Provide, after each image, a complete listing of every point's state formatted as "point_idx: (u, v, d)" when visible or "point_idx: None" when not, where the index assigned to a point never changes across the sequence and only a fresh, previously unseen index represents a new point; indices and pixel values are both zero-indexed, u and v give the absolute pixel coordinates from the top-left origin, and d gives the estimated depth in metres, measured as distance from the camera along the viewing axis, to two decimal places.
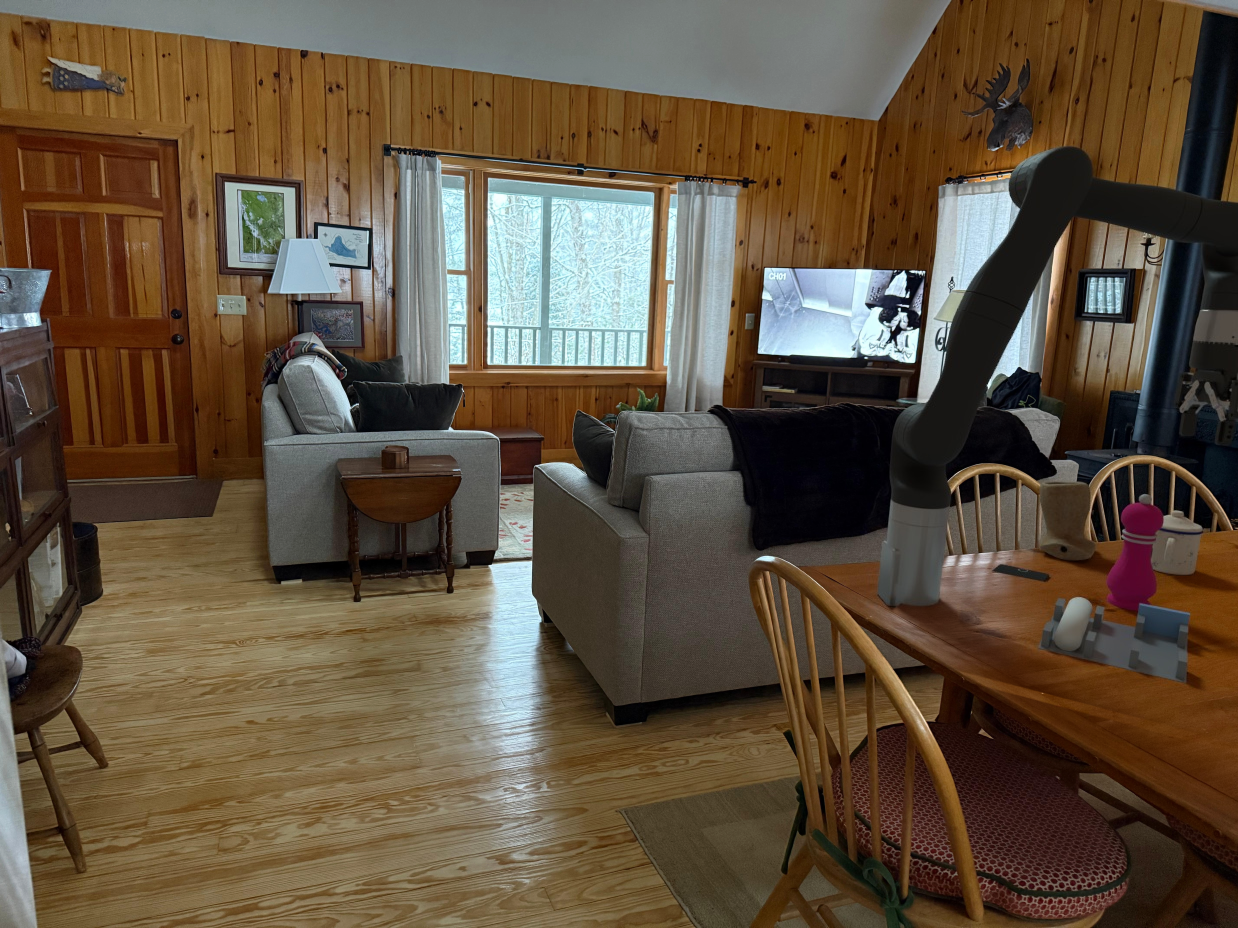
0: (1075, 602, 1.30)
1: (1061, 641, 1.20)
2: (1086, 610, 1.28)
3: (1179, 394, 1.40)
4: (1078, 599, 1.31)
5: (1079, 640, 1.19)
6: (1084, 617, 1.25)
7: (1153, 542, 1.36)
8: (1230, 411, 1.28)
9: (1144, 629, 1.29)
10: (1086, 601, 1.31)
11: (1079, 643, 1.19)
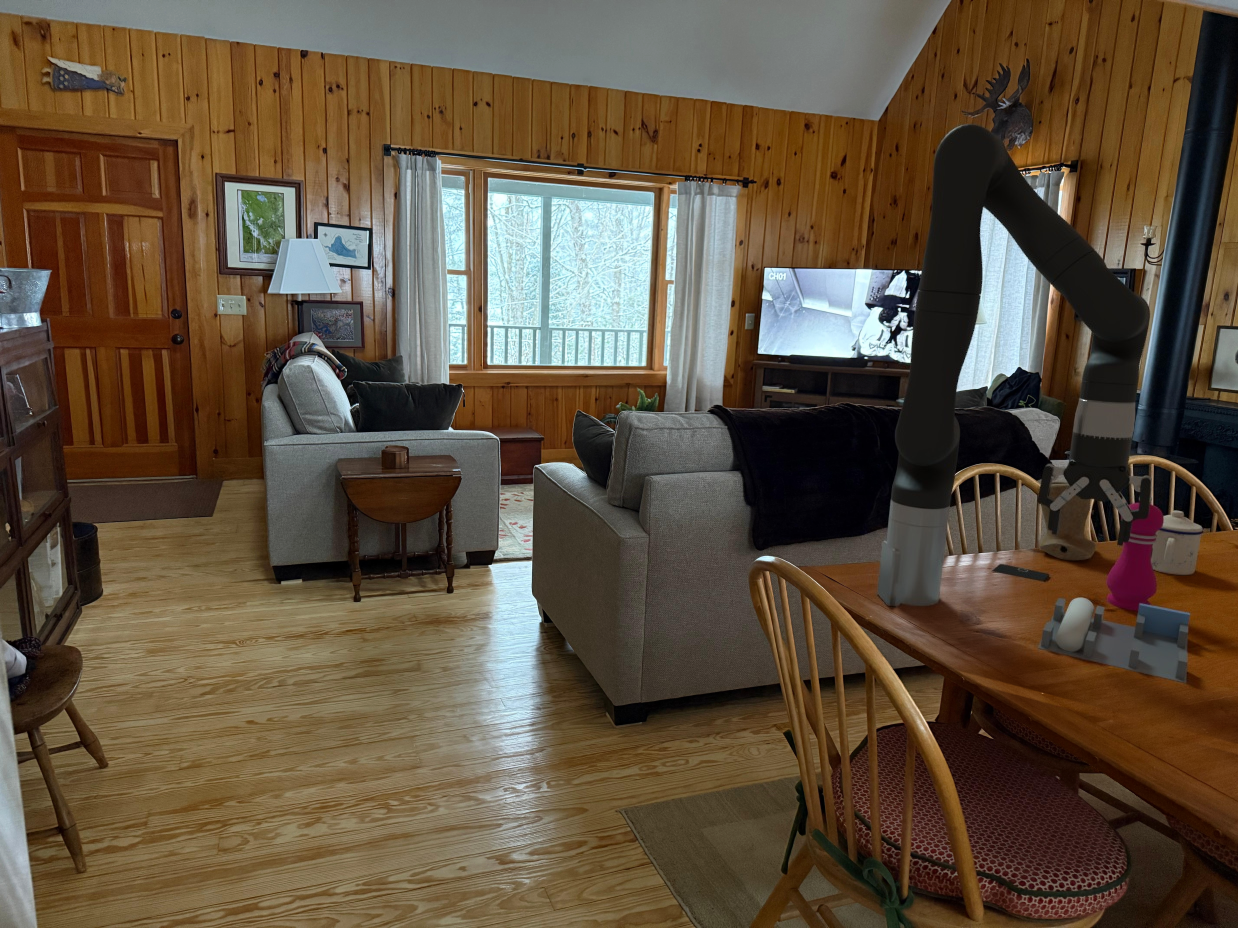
0: (1079, 602, 1.30)
1: (1062, 640, 1.20)
2: (1089, 612, 1.28)
3: (1046, 490, 1.25)
4: (1082, 600, 1.31)
5: (1081, 642, 1.19)
6: (1087, 619, 1.25)
7: (1153, 542, 1.36)
8: (1141, 511, 1.18)
9: (1144, 629, 1.29)
10: (1089, 602, 1.31)
11: (1081, 645, 1.19)
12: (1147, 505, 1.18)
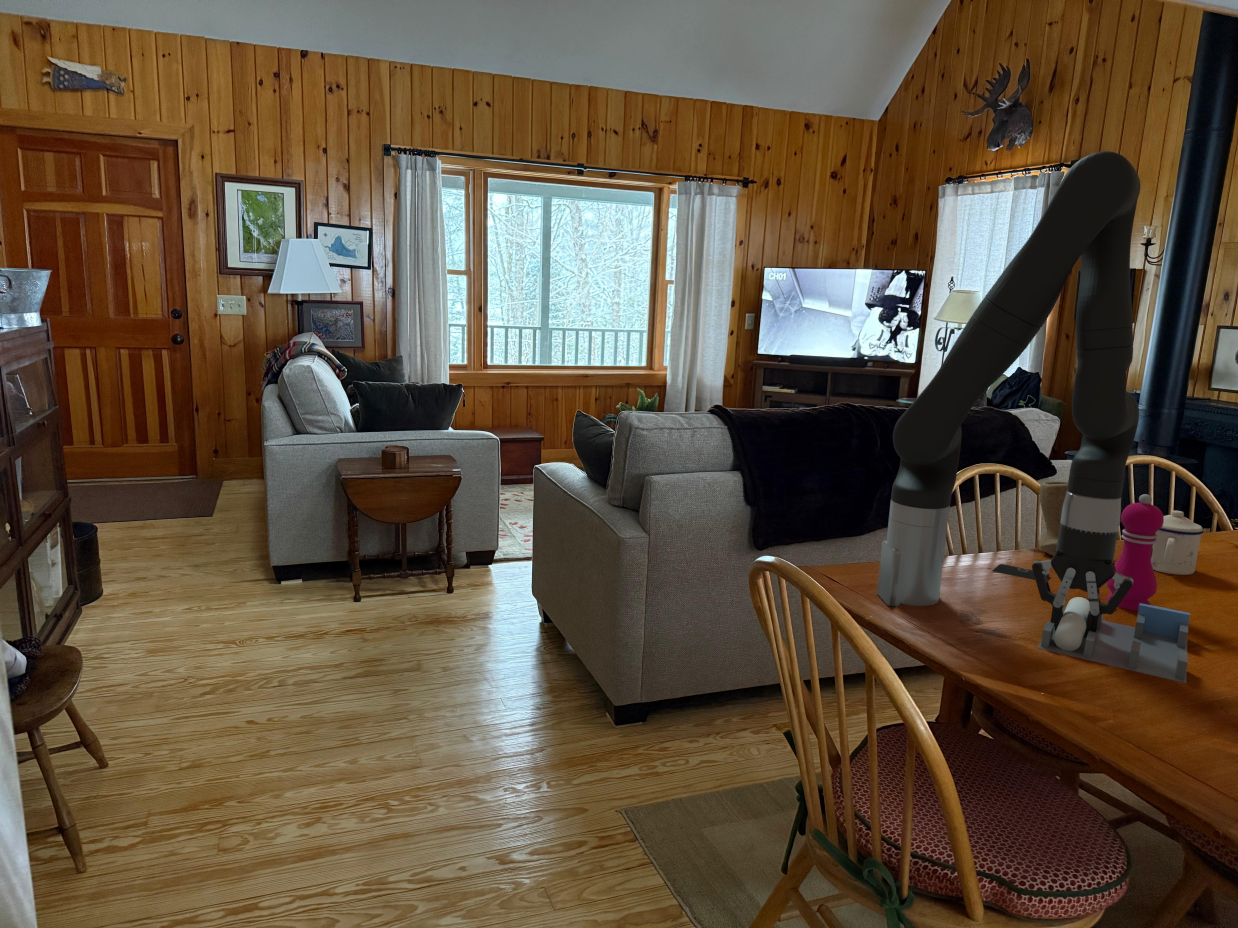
0: (1075, 602, 1.30)
1: (1061, 641, 1.20)
2: (1086, 610, 1.28)
3: (1044, 585, 1.27)
4: (1078, 599, 1.32)
5: (1079, 640, 1.19)
6: (1084, 617, 1.25)
7: (1153, 542, 1.36)
8: (1109, 606, 1.22)
9: (1144, 629, 1.29)
10: (1086, 601, 1.31)
11: (1079, 643, 1.19)
12: (1117, 604, 1.22)
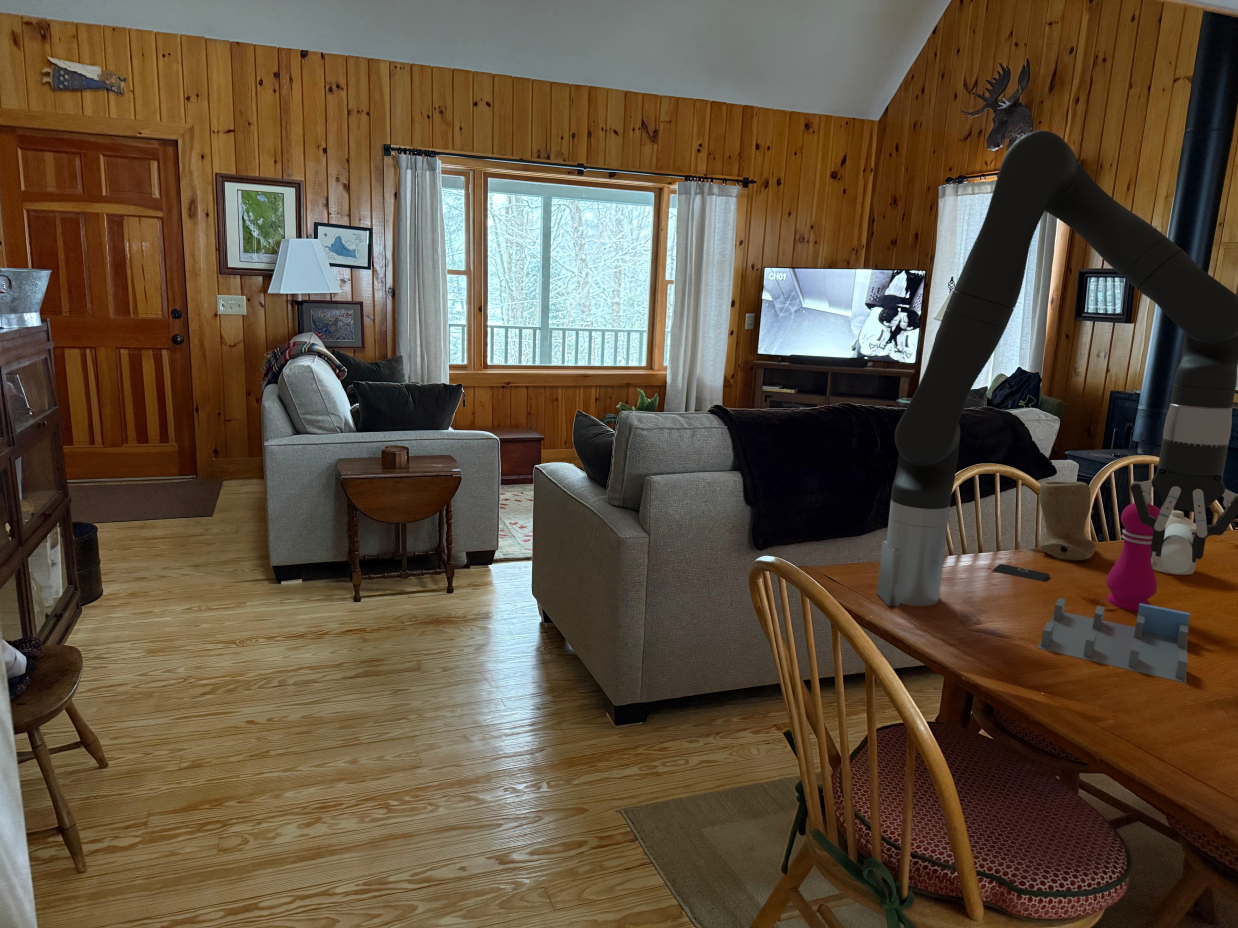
0: (1175, 527, 1.22)
1: (1168, 562, 1.12)
2: (1188, 534, 1.19)
3: (1144, 508, 1.18)
4: (1177, 525, 1.23)
5: (1189, 561, 1.10)
6: (1189, 540, 1.17)
7: None
8: (1219, 527, 1.13)
9: (1144, 629, 1.29)
10: (1186, 527, 1.23)
11: (1190, 563, 1.10)
12: (1228, 523, 1.13)
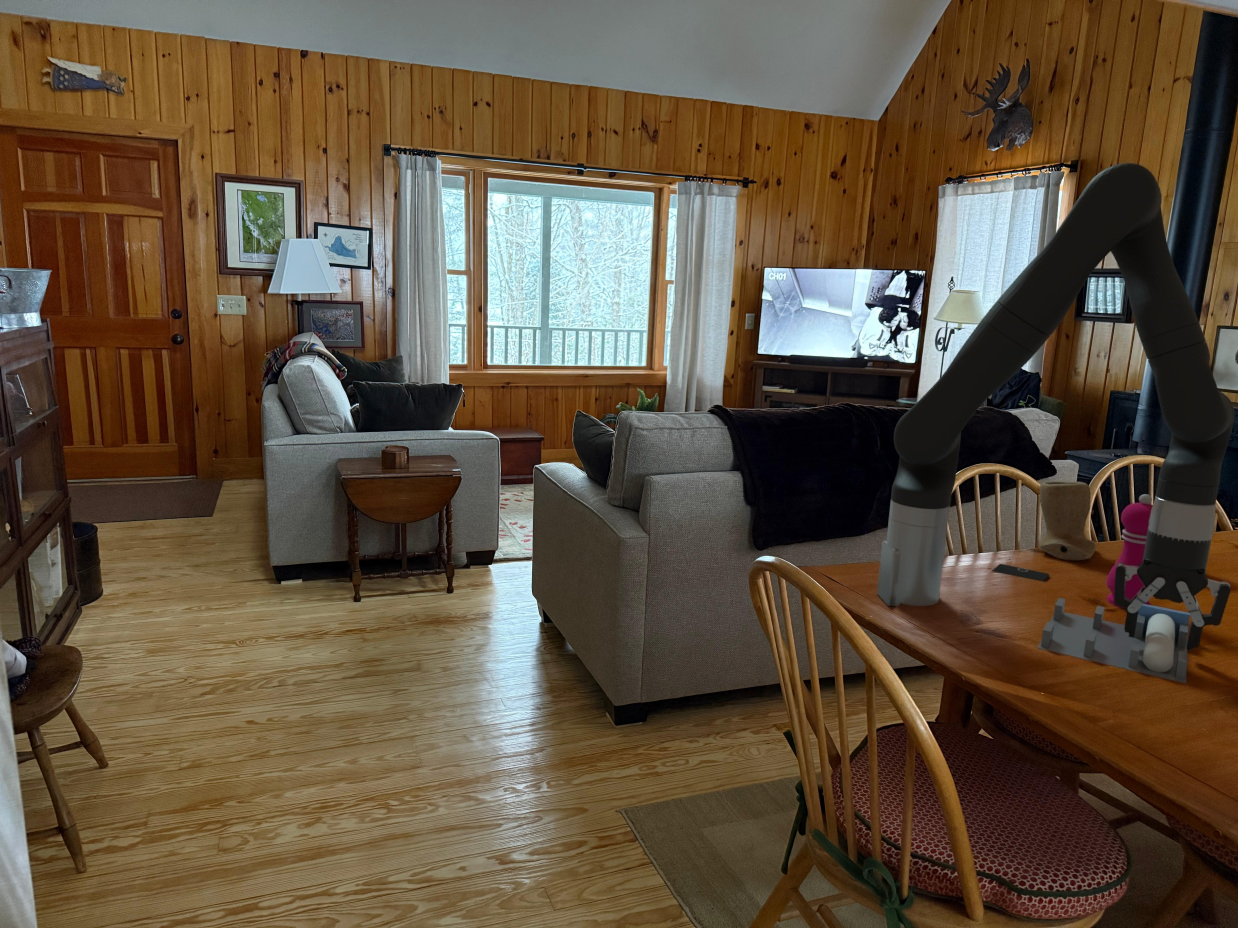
0: (1158, 619, 1.24)
1: (1150, 661, 1.14)
2: (1171, 628, 1.22)
3: (1122, 590, 1.21)
4: (1161, 616, 1.26)
5: (1171, 661, 1.13)
6: (1171, 635, 1.19)
7: None
8: (1214, 617, 1.15)
9: (1144, 629, 1.29)
10: (1169, 618, 1.25)
11: (1171, 664, 1.13)
12: (1221, 612, 1.15)
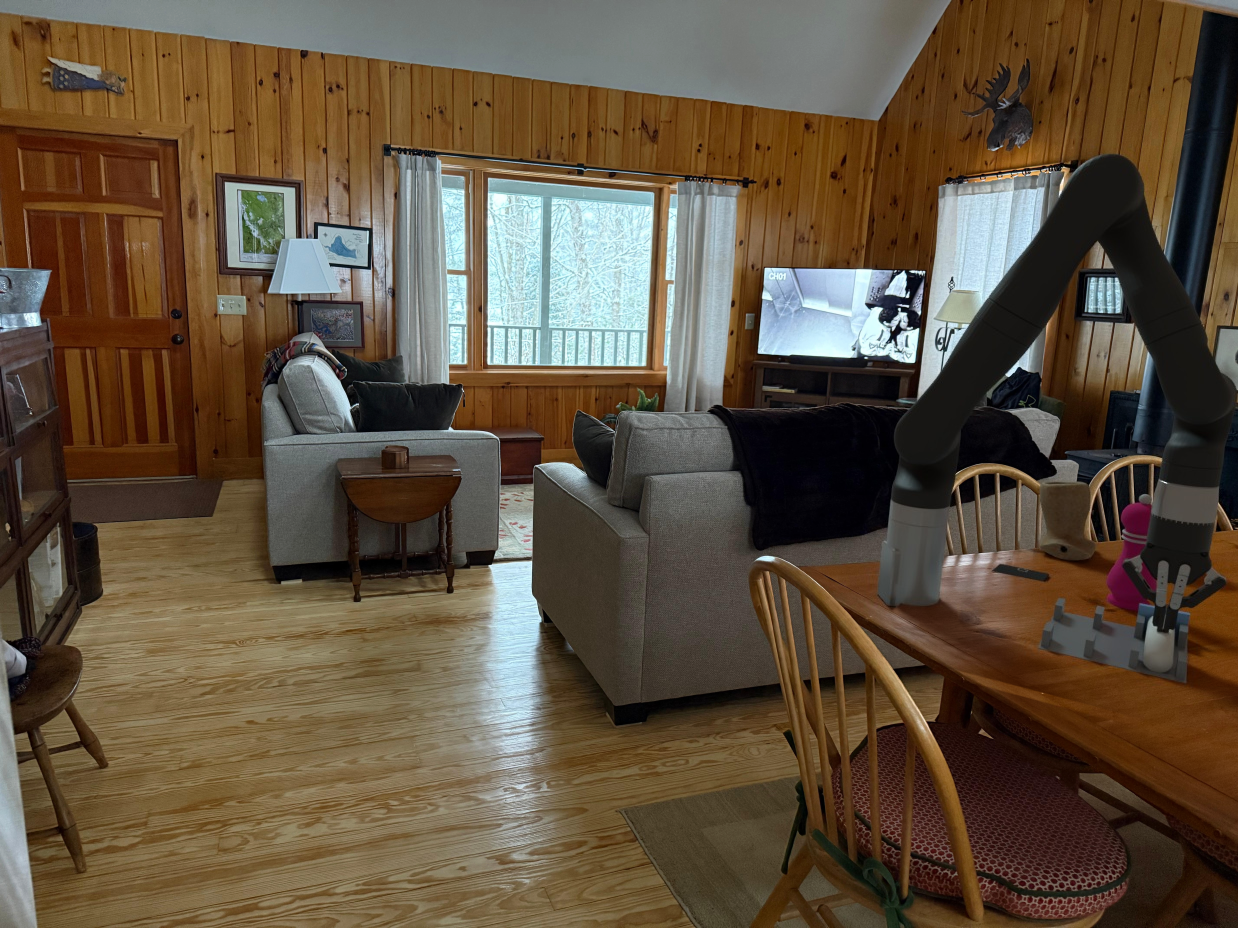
0: None
1: (1150, 661, 1.14)
2: None
3: (1142, 583, 1.20)
4: None
5: (1170, 661, 1.13)
6: (1171, 635, 1.19)
7: None
8: (1192, 600, 1.16)
9: (1144, 629, 1.29)
10: None
11: (1171, 664, 1.13)
12: (1202, 599, 1.16)
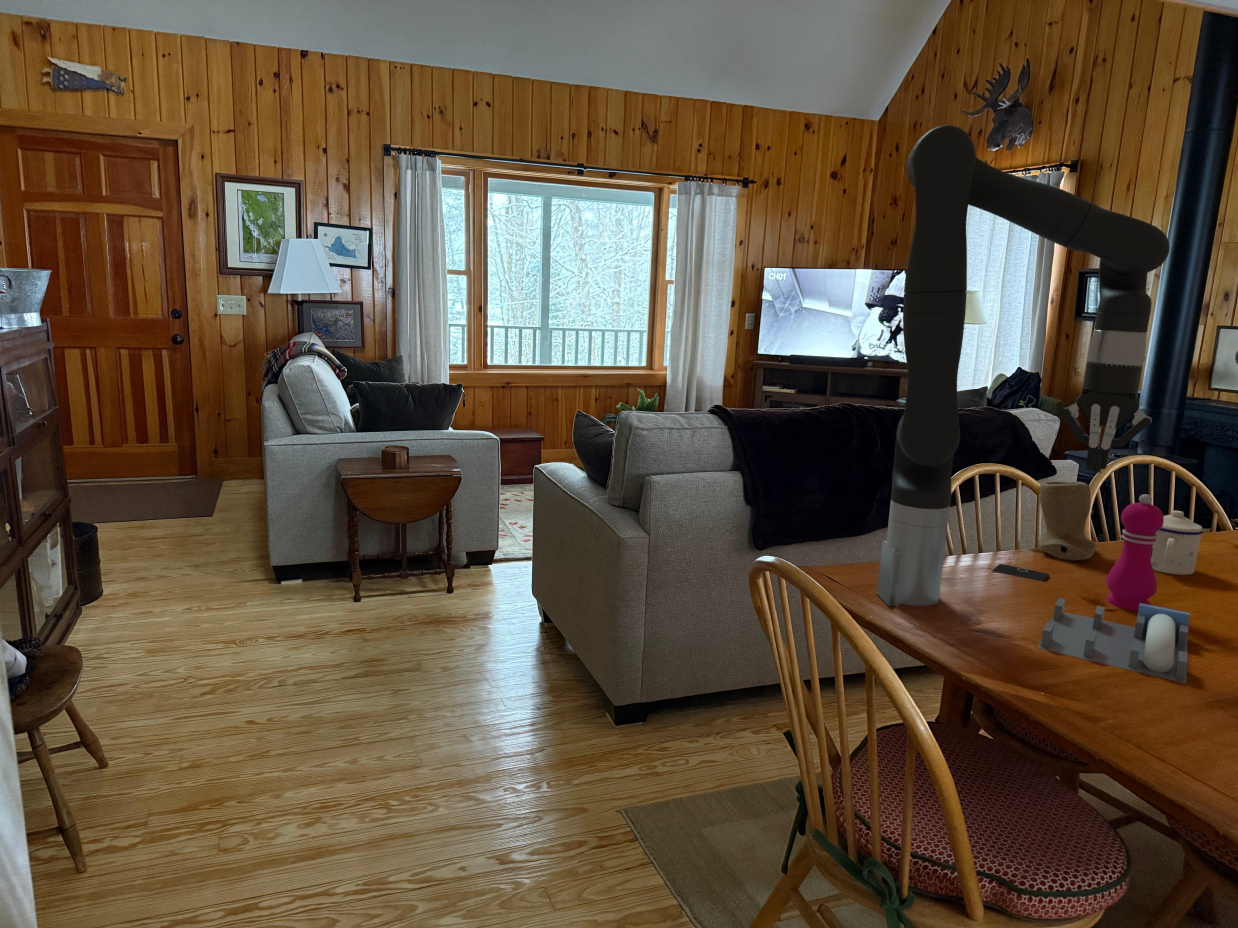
0: (1159, 619, 1.24)
1: (1151, 661, 1.14)
2: (1172, 628, 1.22)
3: (1077, 427, 1.31)
4: (1162, 616, 1.25)
5: (1171, 661, 1.13)
6: (1172, 636, 1.19)
7: (1153, 542, 1.36)
8: (1121, 440, 1.28)
9: (1144, 629, 1.29)
10: (1169, 618, 1.25)
11: (1171, 664, 1.13)
12: (1129, 438, 1.27)
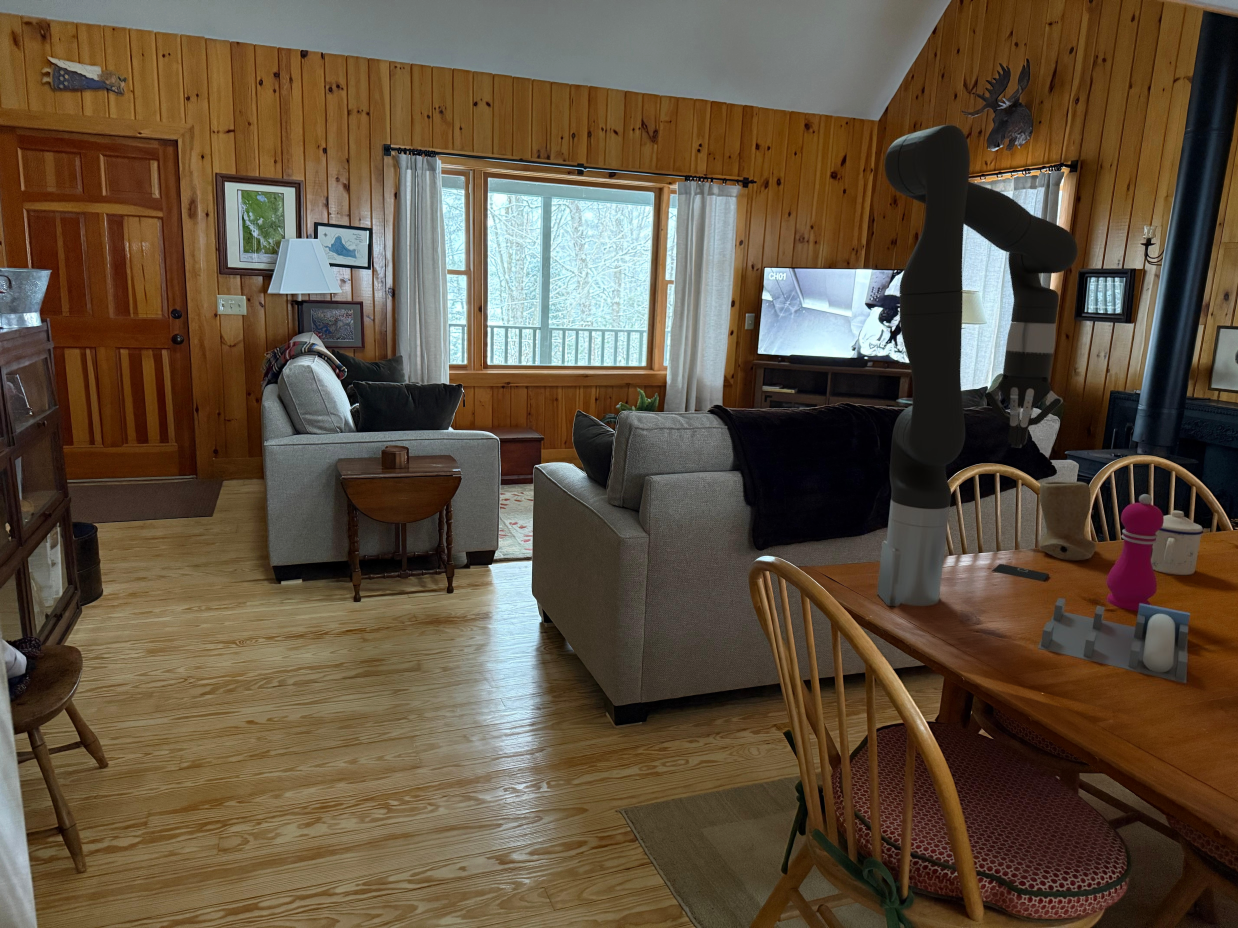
0: (1158, 619, 1.24)
1: (1151, 661, 1.14)
2: (1171, 628, 1.22)
3: (999, 408, 1.48)
4: (1161, 616, 1.25)
5: (1171, 661, 1.13)
6: (1171, 636, 1.19)
7: (1153, 542, 1.36)
8: (1036, 418, 1.45)
9: (1144, 629, 1.29)
10: (1169, 618, 1.25)
11: (1171, 664, 1.13)
12: (1043, 417, 1.45)
